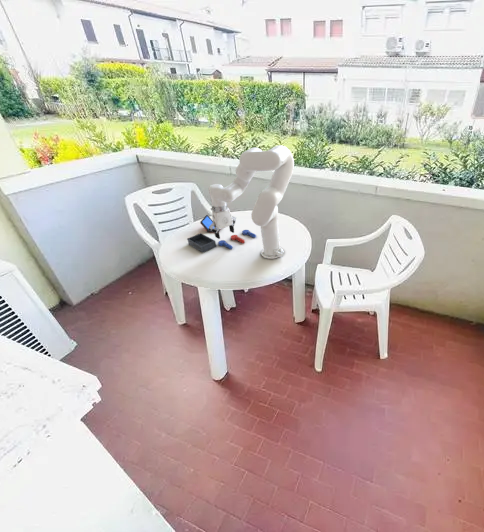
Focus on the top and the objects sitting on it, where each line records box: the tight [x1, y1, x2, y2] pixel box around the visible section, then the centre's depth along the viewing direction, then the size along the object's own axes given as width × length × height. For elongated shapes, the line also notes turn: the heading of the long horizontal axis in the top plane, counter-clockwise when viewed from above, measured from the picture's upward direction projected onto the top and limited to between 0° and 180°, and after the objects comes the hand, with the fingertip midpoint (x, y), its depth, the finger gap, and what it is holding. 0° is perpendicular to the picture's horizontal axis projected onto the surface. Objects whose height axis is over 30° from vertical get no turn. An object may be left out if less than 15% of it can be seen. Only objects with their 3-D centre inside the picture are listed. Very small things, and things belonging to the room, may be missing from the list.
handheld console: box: [199, 214, 221, 233], centre depth 187 cm, size 12×11×7 cm
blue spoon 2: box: [241, 229, 257, 238], centre depth 181 cm, size 12×4×2 cm, turn 52°
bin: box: [186, 232, 217, 254], centre depth 169 cm, size 15×9×4 cm, turn 52°
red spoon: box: [230, 234, 246, 244], centre depth 175 cm, size 12×4×2 cm, turn 51°
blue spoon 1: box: [218, 239, 233, 250], centre depth 169 cm, size 12×4×2 cm, turn 51°
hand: (225, 235), depth 164 cm, fingers open, 9 cm apart
